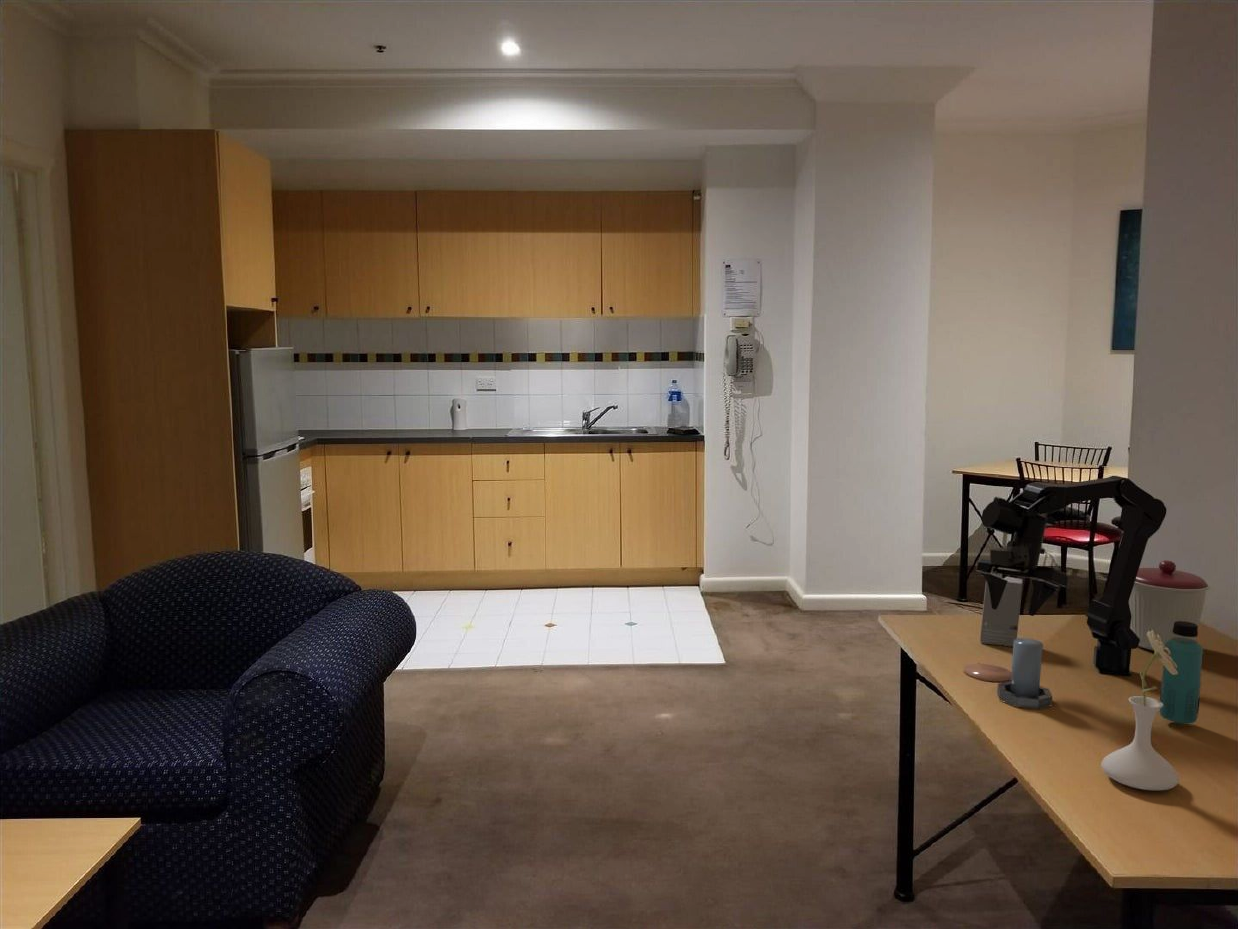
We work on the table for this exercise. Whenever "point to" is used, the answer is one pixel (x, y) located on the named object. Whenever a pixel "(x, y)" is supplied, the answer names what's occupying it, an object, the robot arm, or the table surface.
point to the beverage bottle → (1182, 676)
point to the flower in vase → (1144, 738)
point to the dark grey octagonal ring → (1024, 697)
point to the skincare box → (1002, 615)
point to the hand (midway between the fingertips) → (1012, 612)
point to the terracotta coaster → (987, 672)
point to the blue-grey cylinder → (1026, 667)
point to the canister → (1165, 601)
